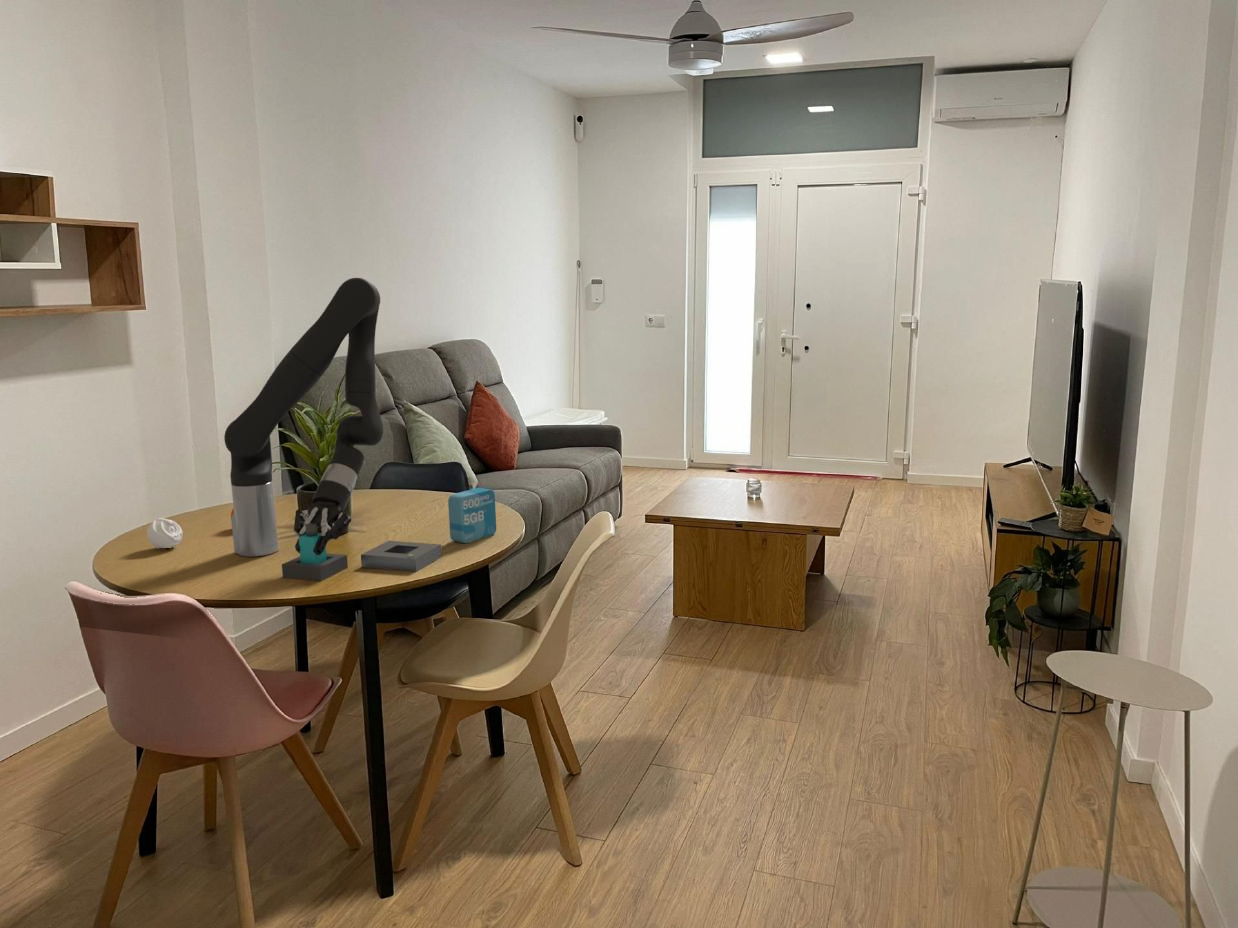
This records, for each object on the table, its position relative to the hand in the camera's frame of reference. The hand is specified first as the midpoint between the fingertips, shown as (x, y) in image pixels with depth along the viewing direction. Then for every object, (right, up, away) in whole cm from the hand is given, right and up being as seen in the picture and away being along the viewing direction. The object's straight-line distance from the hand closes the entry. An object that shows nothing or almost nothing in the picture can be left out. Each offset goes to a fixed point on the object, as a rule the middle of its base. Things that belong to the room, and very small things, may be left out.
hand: (307, 552), depth 207 cm
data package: (+32, +1, +29) cm, 43 cm away
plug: (+1, -4, +3) cm, 5 cm away
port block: (+19, -3, +10) cm, 21 cm away
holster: (+1, -5, +3) cm, 6 cm away
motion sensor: (-43, -2, +25) cm, 50 cm away
